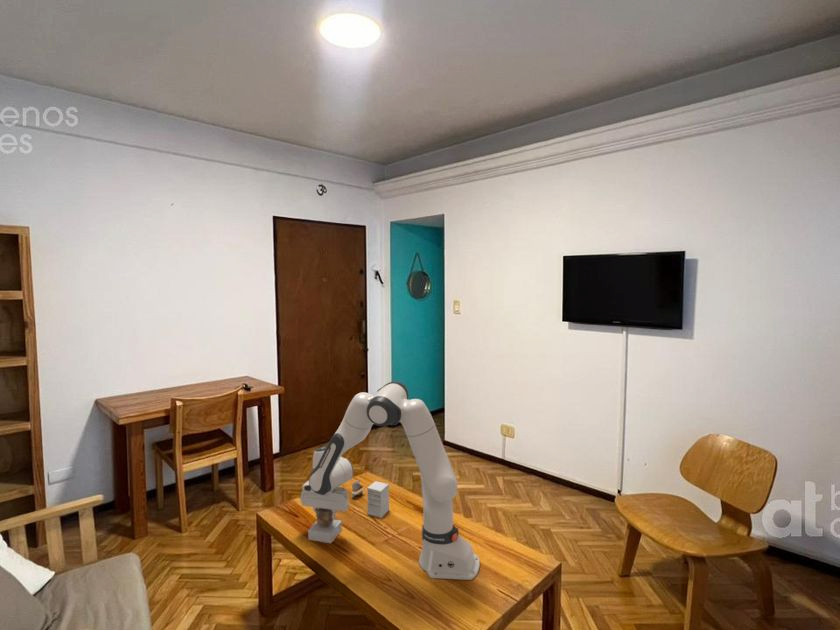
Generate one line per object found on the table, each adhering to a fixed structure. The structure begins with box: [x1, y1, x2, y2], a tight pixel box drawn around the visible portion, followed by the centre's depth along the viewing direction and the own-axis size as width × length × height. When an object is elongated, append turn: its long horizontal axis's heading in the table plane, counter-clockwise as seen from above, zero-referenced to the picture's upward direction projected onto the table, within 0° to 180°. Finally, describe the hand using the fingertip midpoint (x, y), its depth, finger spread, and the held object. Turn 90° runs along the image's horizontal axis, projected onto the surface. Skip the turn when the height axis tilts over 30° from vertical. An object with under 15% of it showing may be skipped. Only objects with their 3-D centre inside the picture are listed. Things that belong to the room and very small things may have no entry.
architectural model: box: [350, 478, 366, 499], centre depth 217 cm, size 3×7×7 cm, turn 148°
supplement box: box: [366, 480, 390, 519], centre depth 203 cm, size 7×7×13 cm
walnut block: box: [316, 508, 335, 526], centre depth 185 cm, size 5×5×6 cm
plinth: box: [307, 519, 343, 544], centre depth 186 cm, size 10×10×4 cm
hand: (325, 517), depth 185 cm, fingers closed on walnut block, 5 cm apart
